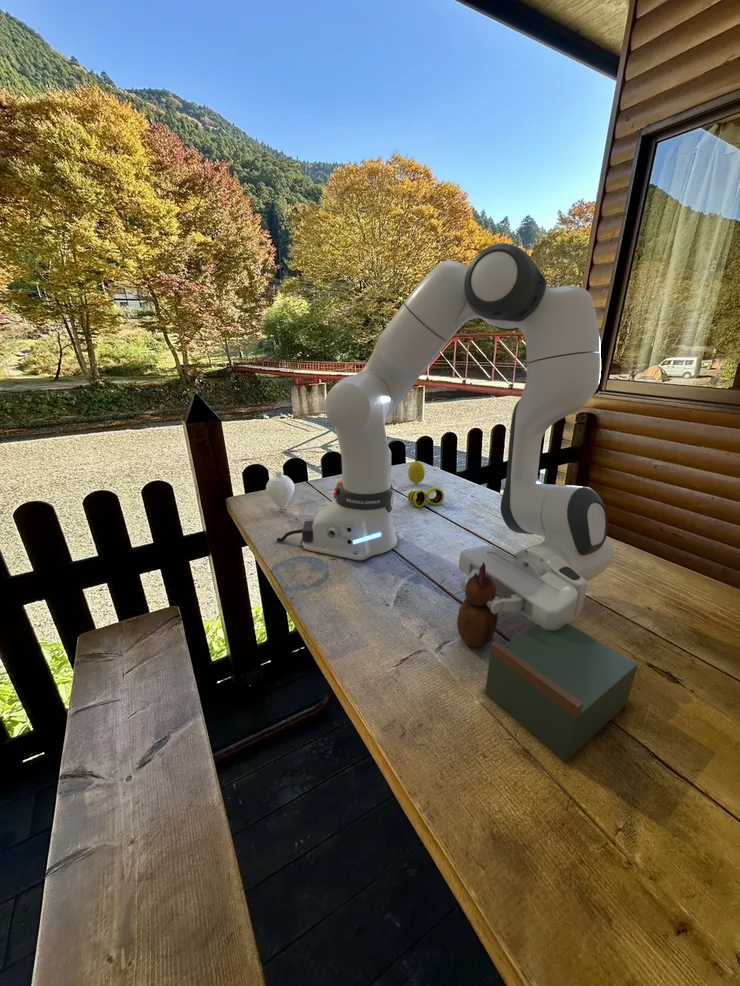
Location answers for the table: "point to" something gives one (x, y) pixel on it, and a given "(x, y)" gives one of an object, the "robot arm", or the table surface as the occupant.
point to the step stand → (559, 684)
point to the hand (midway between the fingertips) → (475, 596)
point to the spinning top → (280, 489)
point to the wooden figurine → (477, 611)
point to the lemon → (416, 472)
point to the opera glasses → (420, 497)
